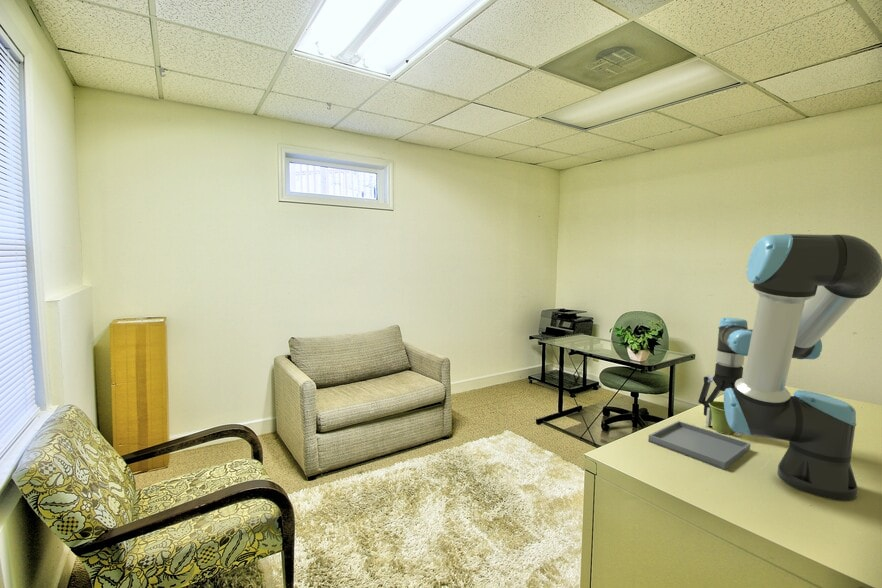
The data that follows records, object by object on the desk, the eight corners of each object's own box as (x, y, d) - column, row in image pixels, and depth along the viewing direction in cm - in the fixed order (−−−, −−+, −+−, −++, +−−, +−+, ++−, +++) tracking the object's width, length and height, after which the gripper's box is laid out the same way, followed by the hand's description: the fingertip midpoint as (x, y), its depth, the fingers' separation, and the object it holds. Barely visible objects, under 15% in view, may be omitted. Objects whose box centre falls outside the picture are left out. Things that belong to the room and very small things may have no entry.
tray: (677, 426, 139) (678, 420, 139) (750, 450, 123) (750, 443, 123) (648, 441, 127) (648, 435, 127) (724, 470, 111) (724, 462, 111)
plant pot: (740, 439, 131) (742, 413, 130) (705, 431, 136) (707, 406, 135) (740, 430, 138) (743, 405, 137) (707, 422, 144) (710, 399, 143)
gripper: (772, 370, 129) (765, 438, 131) (699, 356, 146) (693, 417, 148) (764, 373, 124) (757, 444, 127) (690, 358, 141) (684, 421, 143)
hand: (723, 429), depth 137 cm, fingers closed on plant pot, 8 cm apart
